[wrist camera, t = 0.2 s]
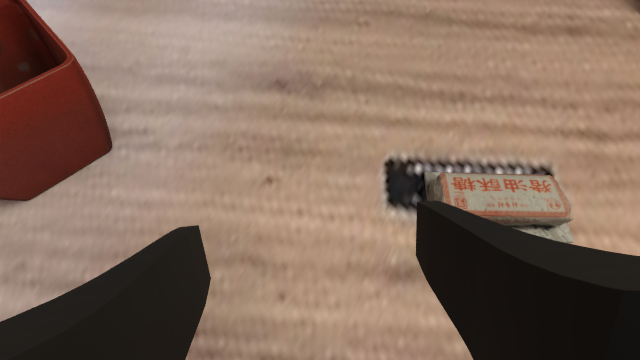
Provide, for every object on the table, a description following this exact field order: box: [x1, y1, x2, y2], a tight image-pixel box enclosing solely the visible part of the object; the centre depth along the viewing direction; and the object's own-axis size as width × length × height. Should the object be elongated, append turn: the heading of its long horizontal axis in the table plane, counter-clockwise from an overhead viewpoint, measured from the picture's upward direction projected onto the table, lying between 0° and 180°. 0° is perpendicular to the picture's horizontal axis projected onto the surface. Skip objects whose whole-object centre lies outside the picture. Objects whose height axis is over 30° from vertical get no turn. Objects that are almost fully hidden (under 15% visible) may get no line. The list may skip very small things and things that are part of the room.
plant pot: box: [0, 0, 112, 201], centre depth 40 cm, size 19×19×17 cm
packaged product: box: [424, 172, 574, 243], centre depth 44 cm, size 18×5×10 cm
